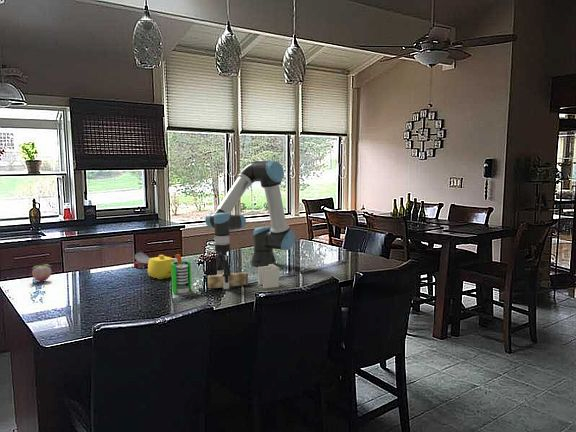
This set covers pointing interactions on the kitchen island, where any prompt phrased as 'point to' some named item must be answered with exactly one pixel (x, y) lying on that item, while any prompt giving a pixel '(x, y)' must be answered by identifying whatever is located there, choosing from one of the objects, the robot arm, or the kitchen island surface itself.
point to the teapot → (160, 267)
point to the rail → (234, 280)
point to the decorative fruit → (41, 272)
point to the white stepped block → (268, 276)
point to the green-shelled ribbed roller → (181, 275)
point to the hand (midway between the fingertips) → (223, 285)
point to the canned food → (141, 260)
